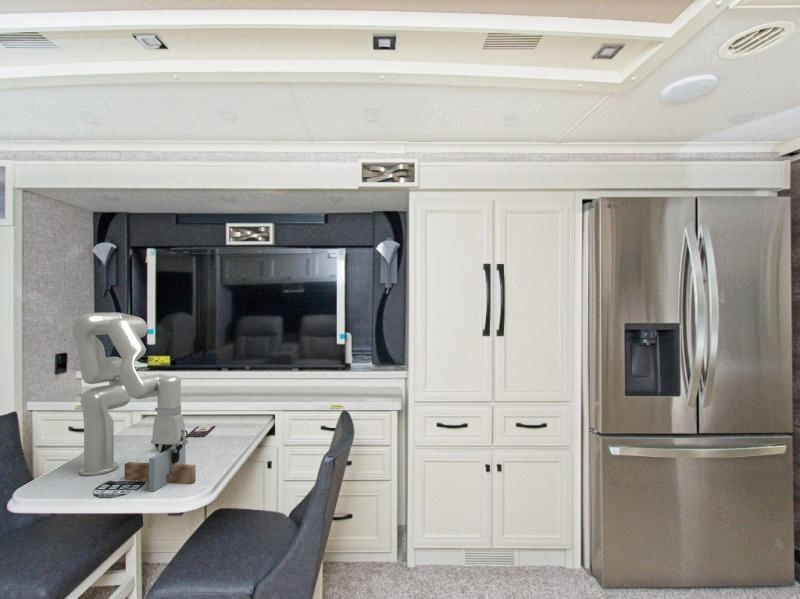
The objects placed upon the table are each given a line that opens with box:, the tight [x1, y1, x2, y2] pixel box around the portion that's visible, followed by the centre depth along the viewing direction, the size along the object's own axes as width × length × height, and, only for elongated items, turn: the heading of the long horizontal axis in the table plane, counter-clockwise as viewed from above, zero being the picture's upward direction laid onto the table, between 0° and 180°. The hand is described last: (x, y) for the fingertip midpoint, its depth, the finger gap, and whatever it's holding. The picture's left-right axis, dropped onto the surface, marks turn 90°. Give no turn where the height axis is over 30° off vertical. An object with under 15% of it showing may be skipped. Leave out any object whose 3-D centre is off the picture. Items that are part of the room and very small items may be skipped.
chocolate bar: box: [185, 425, 216, 439], centre depth 229 cm, size 9×1×18 cm
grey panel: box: [148, 442, 186, 492], centre depth 166 cm, size 18×2×11 cm, turn 173°
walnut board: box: [124, 461, 197, 485], centre depth 166 cm, size 26×2×6 cm, turn 83°
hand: (169, 461), depth 167 cm, fingers open, 3 cm apart
